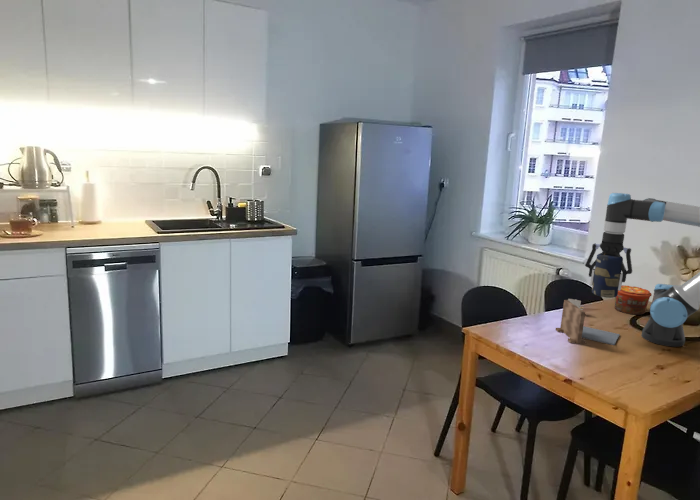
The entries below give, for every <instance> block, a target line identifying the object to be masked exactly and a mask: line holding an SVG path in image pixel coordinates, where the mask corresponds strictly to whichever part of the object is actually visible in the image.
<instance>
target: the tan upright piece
mask: <svg viewBox="0 0 700 500" xmlns="http://www.w3.org/2000/svg"><path fill="white" fill-rule="evenodd" d="M585 318H586V311H584V310H581V309H580V308H578V307H577V306H575V305H574V304H573V303H571V302H570V301H568V299H564V300H563V306H562V314H561V319H560V321H561V322H560V327H555V331H556V332H557V333H564V334H565V336H567V337H568V338H567V342H568V343H569V344H576V345H581V344H583V345H585V344H586V342H587V341H586V339H585V338H582V332H583V326H584V324H585Z"/></svg>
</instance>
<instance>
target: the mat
mask: <svg viewBox="0 0 700 500" xmlns="http://www.w3.org/2000/svg"><path fill="white" fill-rule="evenodd" d="M619 337H620V334H619V333H615V332H611V331H607V330H602V329H597V328H593V327H589V326H584V325H583V332H582V339H584V340H591V341H593V342H594V341H595V342H598V343H601V344H602V343H603V344H607V345H611V346H615V345H616V343H617V341H618V340H619Z"/></svg>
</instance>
